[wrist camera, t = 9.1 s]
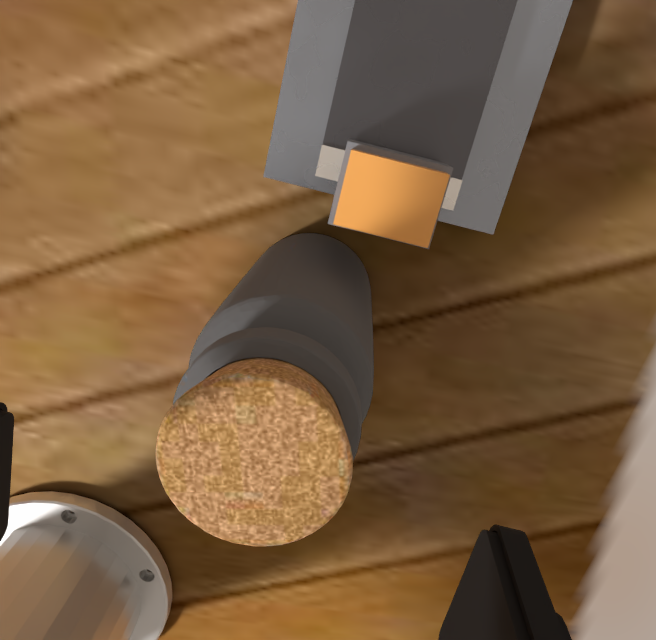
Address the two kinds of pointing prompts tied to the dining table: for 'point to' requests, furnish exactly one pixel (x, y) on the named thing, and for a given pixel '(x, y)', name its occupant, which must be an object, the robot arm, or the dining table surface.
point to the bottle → (274, 398)
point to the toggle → (389, 193)
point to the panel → (416, 91)
